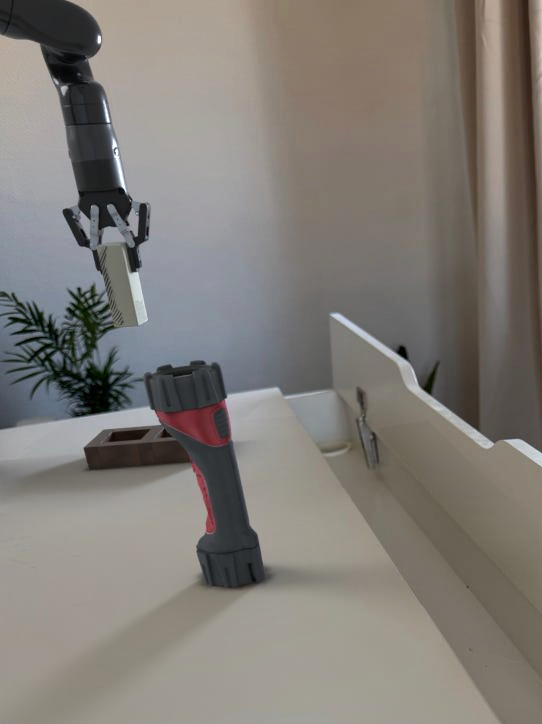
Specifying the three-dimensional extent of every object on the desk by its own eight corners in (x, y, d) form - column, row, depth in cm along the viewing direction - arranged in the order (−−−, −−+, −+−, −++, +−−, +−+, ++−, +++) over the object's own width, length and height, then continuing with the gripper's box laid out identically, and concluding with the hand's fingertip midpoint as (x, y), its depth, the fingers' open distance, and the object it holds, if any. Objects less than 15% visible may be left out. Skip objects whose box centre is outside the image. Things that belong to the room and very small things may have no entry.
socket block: (89, 473, 146) (83, 447, 144) (109, 454, 155) (103, 429, 153) (210, 464, 146) (204, 437, 144) (222, 445, 155) (218, 420, 153)
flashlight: (186, 575, 108) (139, 365, 98) (256, 561, 110) (217, 354, 100) (194, 601, 102) (144, 380, 91) (269, 586, 104) (228, 368, 93)
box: (124, 322, 167) (106, 242, 161) (149, 321, 167) (132, 240, 161) (113, 328, 162) (94, 245, 156) (138, 326, 162) (121, 243, 156)
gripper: (147, 154, 156) (169, 267, 164) (58, 160, 156) (83, 273, 164) (135, 154, 150) (158, 272, 158) (41, 161, 150) (69, 278, 157)
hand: (120, 272), depth 161 cm, fingers closed on box, 4 cm apart
